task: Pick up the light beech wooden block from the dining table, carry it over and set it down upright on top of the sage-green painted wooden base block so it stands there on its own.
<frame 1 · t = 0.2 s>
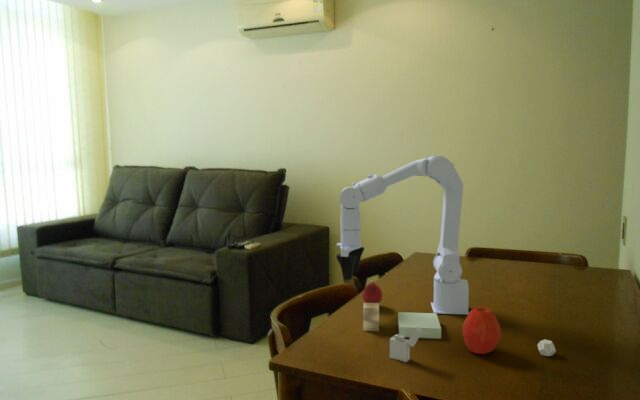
hand: (351, 275, 127), 10 cm above the table, fingers open, 7 cm apart
stacking block: (418, 331, 113), on the table
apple: (480, 352, 100), on the table
lighter: (405, 361, 97), on the table
beech block: (371, 327, 114), on the table
onion: (372, 307, 129), on the table
game die: (546, 355, 98), on the table
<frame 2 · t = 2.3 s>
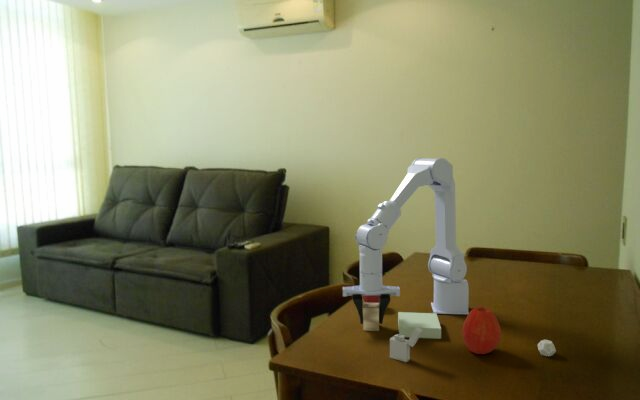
hand: (371, 322, 114), 1 cm above the table, fingers closed on beech block, 4 cm apart
beech block: (371, 327, 114), on the table, touching gripper
everything else where it was.
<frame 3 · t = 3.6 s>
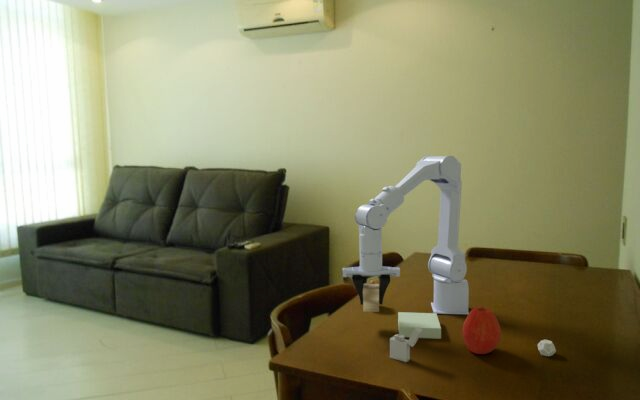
hand: (371, 303, 114), 7 cm above the table, fingers closed on beech block, 4 cm apart
beech block: (371, 308, 114), point 5 cm above the table, touching gripper
everything else where it was.
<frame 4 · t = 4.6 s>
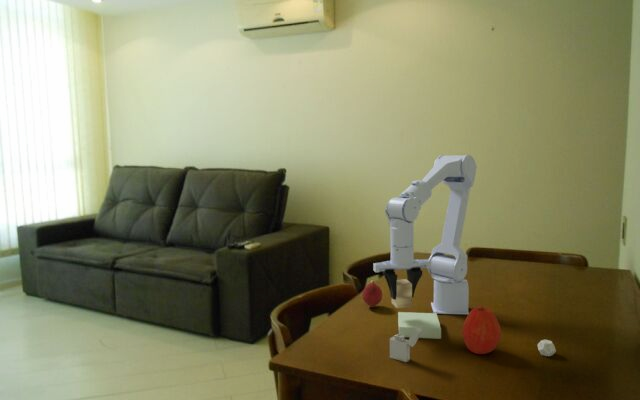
hand: (402, 297, 112), 8 cm above the table, fingers closed on beech block, 4 cm apart
beech block: (401, 304, 113), point 6 cm above the table, touching gripper
everything else where it was.
when the fingers open (5 cm above the table, at t = 6.1 s): beech block stays where it is, resting on stacking block.
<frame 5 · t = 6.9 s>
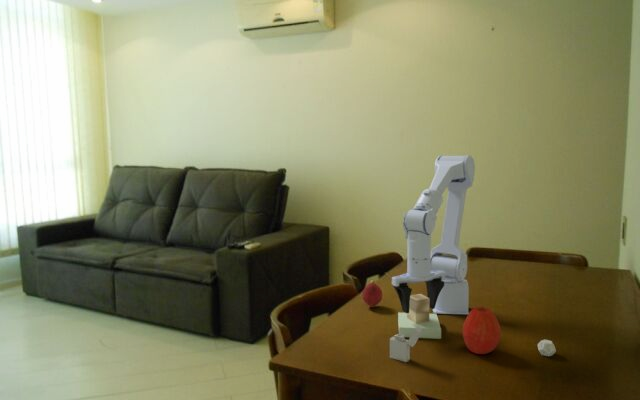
hand: (418, 309, 112), 5 cm above the table, fingers open, 7 cm apart
stacking block: (418, 331, 113), on the table, touching beech block
beech block: (418, 319, 113), point 2 cm above the table, touching stacking block
everything else where it was.
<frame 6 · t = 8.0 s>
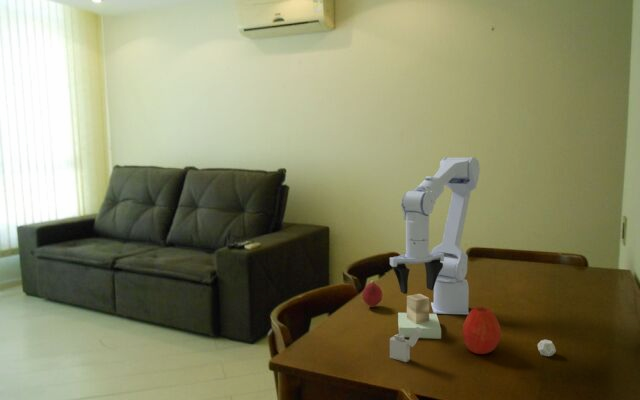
hand: (417, 290, 113), 10 cm above the table, fingers open, 7 cm apart
nothing on the table moved.
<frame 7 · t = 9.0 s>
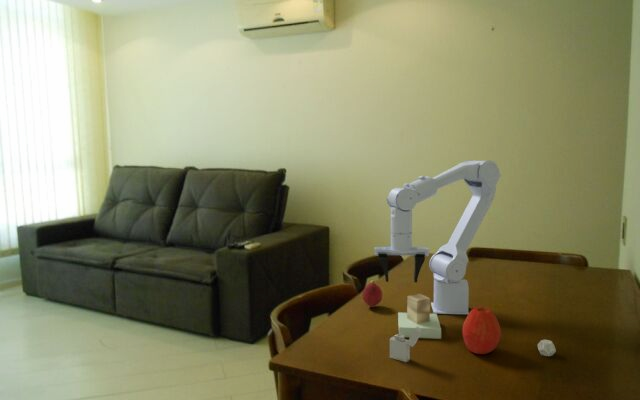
hand: (401, 281, 121), 10 cm above the table, fingers open, 7 cm apart
stacking block: (418, 331, 113), on the table
beech block: (418, 319, 113), point 2 cm above the table
everything else where it was.
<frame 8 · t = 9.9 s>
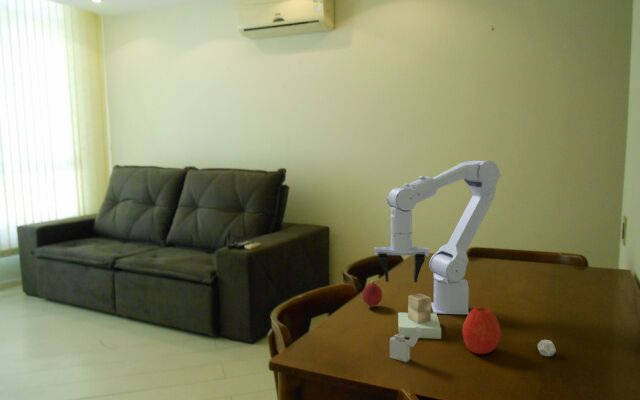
hand: (401, 281, 121), 10 cm above the table, fingers open, 7 cm apart
nothing on the table moved.
at the end: beech block 0.4 cm off-centre on the stacking block, point 3.0 cm above the stacking block's base; the gripper is holding nothing; beech block tilted 0° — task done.
